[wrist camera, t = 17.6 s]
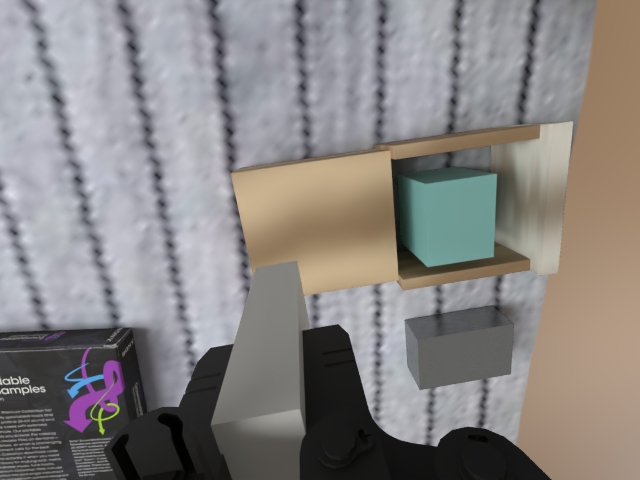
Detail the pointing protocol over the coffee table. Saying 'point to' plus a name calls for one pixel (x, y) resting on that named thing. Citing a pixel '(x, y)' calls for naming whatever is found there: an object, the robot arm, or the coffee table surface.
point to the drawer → (378, 210)
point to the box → (65, 401)
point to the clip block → (448, 214)
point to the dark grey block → (459, 347)
